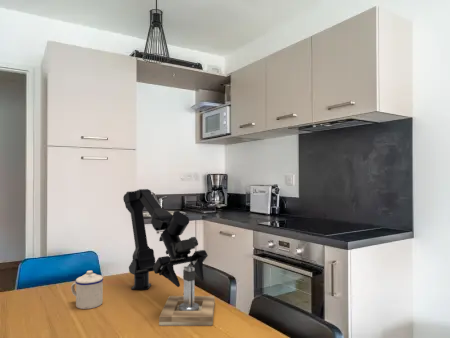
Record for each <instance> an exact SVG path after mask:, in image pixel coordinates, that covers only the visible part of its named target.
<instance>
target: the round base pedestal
mask: <svg viewBox="0 0 450 338" xmlns="http://www.w3.org/2000/svg"><path fill="white" fill-rule="evenodd" d="M182 271H183V276H182V279H183V296H184V303H182V304H180V305H179V311H199V305H198V304H197V303H194V296H195V280H196V273H195V268H194V267H193V266H191V265H187V266H183V270H182Z"/></svg>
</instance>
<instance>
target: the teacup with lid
mask: <svg viewBox="0 0 450 338" xmlns="http://www.w3.org/2000/svg"><path fill="white" fill-rule="evenodd" d="M103 281H104V277H103V275H101V274H97V273H94V272H93V270H87V271H86V273H85V274H83V275H82V276H78V277H77V278H76V279H75V282H73V283H72V284H71V286H70V289H71V294H72V295H73V296H74V297H75V306H76V308H77V309H81V310H90V309H94V308H98V307H100V306H101V305H102V304H103V298H104V297H103V295H104V294H103V293H104V292H103V287H104V285H103Z"/></svg>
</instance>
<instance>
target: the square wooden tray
mask: <svg viewBox="0 0 450 338" xmlns="http://www.w3.org/2000/svg"><path fill="white" fill-rule="evenodd" d="M215 297H216V296H215V295H194V303H197V304H198V305H199V311H179V305H180V304H182V303H184V295H169V296H168V298H167V300H166V302H165V303H164V306H163V308H162V310H161V312H160V315H159V316H158V317H159V318H158V326H189V327H190V326H194V327H195V326H210V327H211V326H213V323H214V311H215V302H216V301H215Z"/></svg>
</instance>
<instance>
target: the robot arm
mask: <svg viewBox="0 0 450 338" xmlns="http://www.w3.org/2000/svg"><path fill="white" fill-rule="evenodd" d="M122 199H123V203H124V205H125V208H126V210H127V211H128V212H129V214H130V217H131V224H132V225H131V226H132V231H133V239H134V246H135V247H134V248H135V249H134V251H133V253H132V261H131V262H130V264H129V266H128V272H129V273H130V274H132V275H133V277H134V279H133V286H132V287H131V290H133V291H134V290H146V291H147V290H149V289H150V287H151V286H152V283H150V272H154V274H155V275H158V274H159V276H163V277H164V278H166V279H167V280H169V281H170V282H171V283H172V284H174V285H175V286H176V287H177V288H179V287H180V286H181V284H180V279H179V278H178V276H177V273H176V272H175V269H174V266H176V265H182V264H186V263H190V266H191V265H192V267H194V268H195V275H196V276H197V277H198V279H199V280H200V282H203V281H204V269H203V263H204V261H206V259H207V258H208V256H209V255H208V252H207V251H206V250H205V249H199V250H195V251H194V252H193V253H192V255H190V254H191V250H194V249H196V247H198V245H199V242H198V241H199V240H198V239H197V237H196V236H191V237H190V238H188V239H183V240H181V237H180V236H181V235H183V233H184V231H185V229H186V228H187V227H188V226H189V224H190V219H189V216H188V215H186V214H184V213H181V211H180V210H174V211H173V213H171V212H170V211H168V210H166V209H164V208H163V207H162V206H161V205H160V204H159V203H158V200H156V199H155V197H154V196H153V194H152V190H151V189H148V188H140V189H137V190H134V191H132V190H131V191H127V192H126V193H125V194H124V195H123V198H122ZM144 208H145V209H146V211H147V212H148V213H149V215H150V218H151V220H150V223H151V225H152V226H151V227H152V228H153V229H154V230H155V231H156V232H160V231H162V232H161V233H160V237H159V239H158V240H159V241H158V242H163V244H164V247H165V249H166V250H165V254H166V255H164V256H159V257H157V259H156V257H155V252H154V249H153V248H151V247H149V245H148V238H147V231H146V227H145V225H146V224H145V218H144V212H143V211H144Z"/></svg>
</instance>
